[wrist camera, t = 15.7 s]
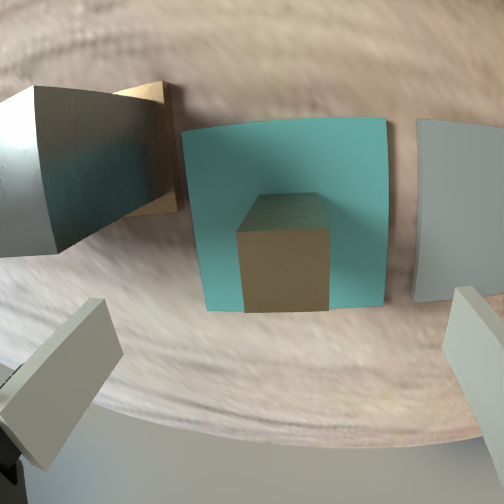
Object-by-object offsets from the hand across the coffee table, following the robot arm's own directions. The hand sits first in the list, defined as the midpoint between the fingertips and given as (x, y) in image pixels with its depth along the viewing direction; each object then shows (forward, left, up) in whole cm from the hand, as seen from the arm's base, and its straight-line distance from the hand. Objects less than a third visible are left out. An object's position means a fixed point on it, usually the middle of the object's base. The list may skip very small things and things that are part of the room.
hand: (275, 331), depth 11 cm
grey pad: (+19, 0, -17) cm, 25 cm away
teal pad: (0, 0, -17) cm, 17 cm away
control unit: (-18, +7, -17) cm, 25 cm away
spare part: (0, 0, -16) cm, 16 cm away
